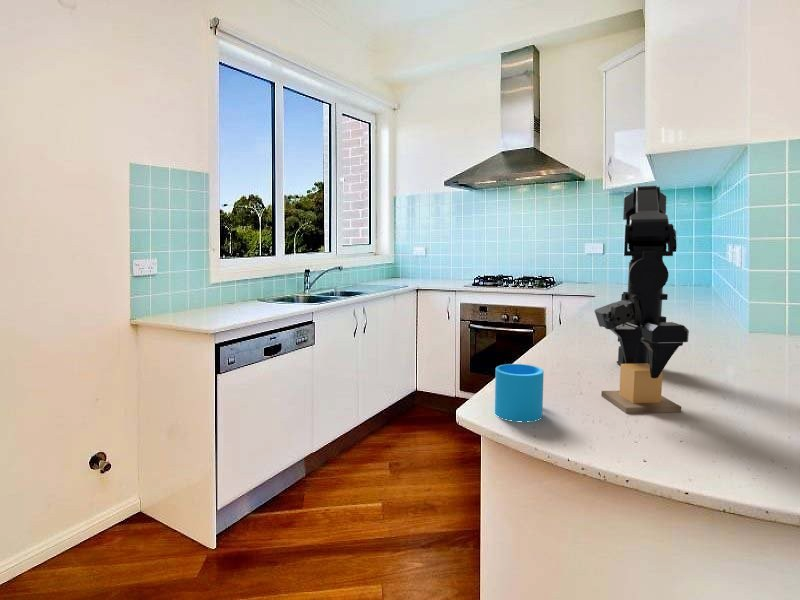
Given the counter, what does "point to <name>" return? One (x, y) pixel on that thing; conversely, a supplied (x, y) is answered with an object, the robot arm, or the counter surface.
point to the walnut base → (640, 404)
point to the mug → (519, 392)
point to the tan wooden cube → (639, 383)
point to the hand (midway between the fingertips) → (640, 371)
